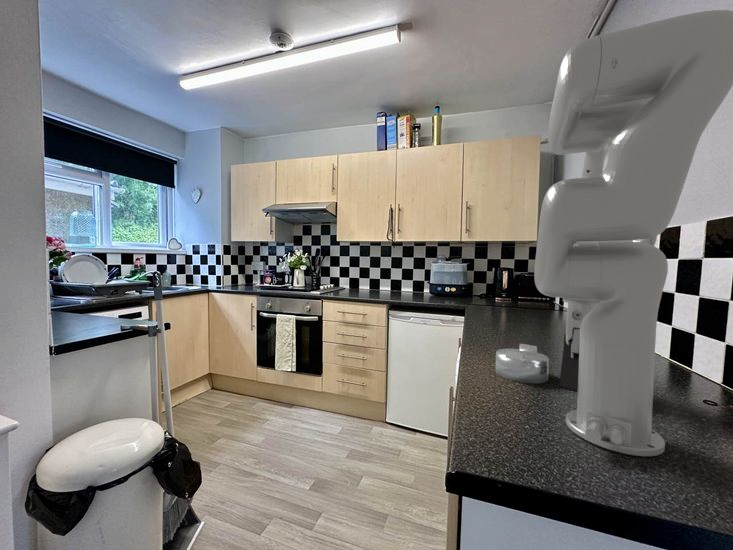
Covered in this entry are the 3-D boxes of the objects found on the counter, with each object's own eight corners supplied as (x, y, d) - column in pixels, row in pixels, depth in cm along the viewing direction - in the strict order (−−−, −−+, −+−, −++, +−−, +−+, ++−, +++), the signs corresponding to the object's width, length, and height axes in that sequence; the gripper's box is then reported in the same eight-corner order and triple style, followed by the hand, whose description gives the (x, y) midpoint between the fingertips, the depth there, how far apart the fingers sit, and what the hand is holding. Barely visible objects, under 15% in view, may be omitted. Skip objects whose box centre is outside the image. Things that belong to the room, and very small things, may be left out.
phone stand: (590, 395, 66) (593, 340, 65) (558, 387, 70) (560, 335, 69) (597, 384, 72) (599, 333, 72) (568, 377, 76) (569, 329, 76)
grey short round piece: (540, 387, 69) (541, 358, 69) (487, 373, 78) (488, 348, 78) (553, 374, 78) (554, 349, 78) (505, 363, 86) (506, 340, 86)
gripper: (597, 300, 62) (593, 389, 63) (607, 295, 73) (604, 371, 74) (554, 297, 67) (551, 379, 68) (570, 293, 78) (567, 363, 79)
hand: (579, 374), depth 71 cm, fingers closed on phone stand, 1 cm apart
